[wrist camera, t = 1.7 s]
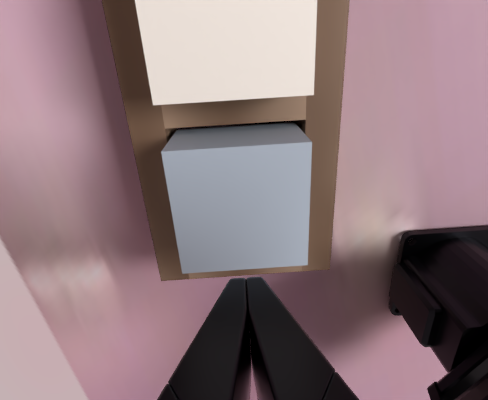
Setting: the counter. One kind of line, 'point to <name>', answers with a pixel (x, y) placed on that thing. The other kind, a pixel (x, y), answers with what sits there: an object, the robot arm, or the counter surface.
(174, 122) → the wooden compartment tray
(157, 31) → the button cream
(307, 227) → the button slate
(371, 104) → the counter surface
